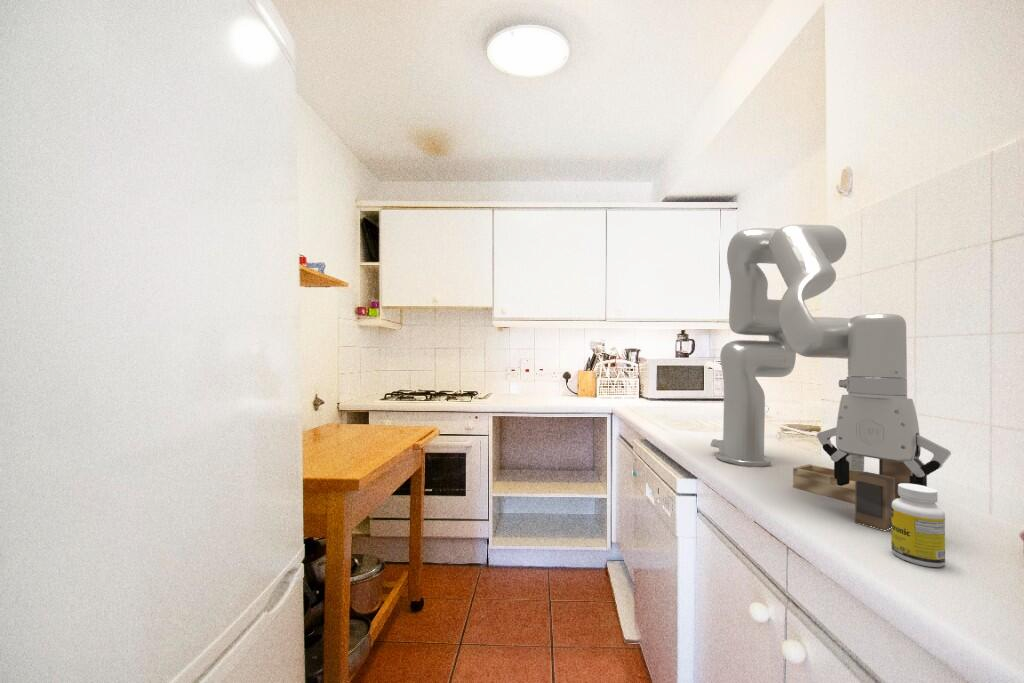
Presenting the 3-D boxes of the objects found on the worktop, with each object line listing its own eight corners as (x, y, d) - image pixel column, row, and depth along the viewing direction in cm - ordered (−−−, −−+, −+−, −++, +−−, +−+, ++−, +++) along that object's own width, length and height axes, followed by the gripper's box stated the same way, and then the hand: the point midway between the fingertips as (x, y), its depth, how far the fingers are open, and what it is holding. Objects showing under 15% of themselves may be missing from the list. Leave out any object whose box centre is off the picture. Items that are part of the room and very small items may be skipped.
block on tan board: (864, 518, 74) (865, 471, 74) (894, 526, 71) (895, 477, 71) (853, 523, 72) (853, 474, 72) (883, 532, 68) (884, 481, 68)
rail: (793, 487, 91) (793, 437, 91) (809, 482, 94) (809, 434, 95) (919, 520, 74) (919, 458, 74) (932, 513, 77) (933, 454, 78)
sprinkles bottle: (833, 480, 97) (834, 420, 97) (856, 481, 96) (856, 421, 96) (846, 486, 92) (846, 423, 92) (869, 488, 91) (870, 424, 92)
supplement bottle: (884, 546, 63) (884, 479, 63) (931, 554, 61) (932, 484, 61) (901, 563, 58) (902, 490, 58) (954, 572, 56) (954, 496, 56)
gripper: (807, 385, 77) (808, 481, 76) (940, 392, 62) (942, 512, 62) (827, 385, 81) (828, 476, 80) (956, 392, 66) (958, 504, 65)
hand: (877, 492), depth 71 cm, fingers open, 9 cm apart
